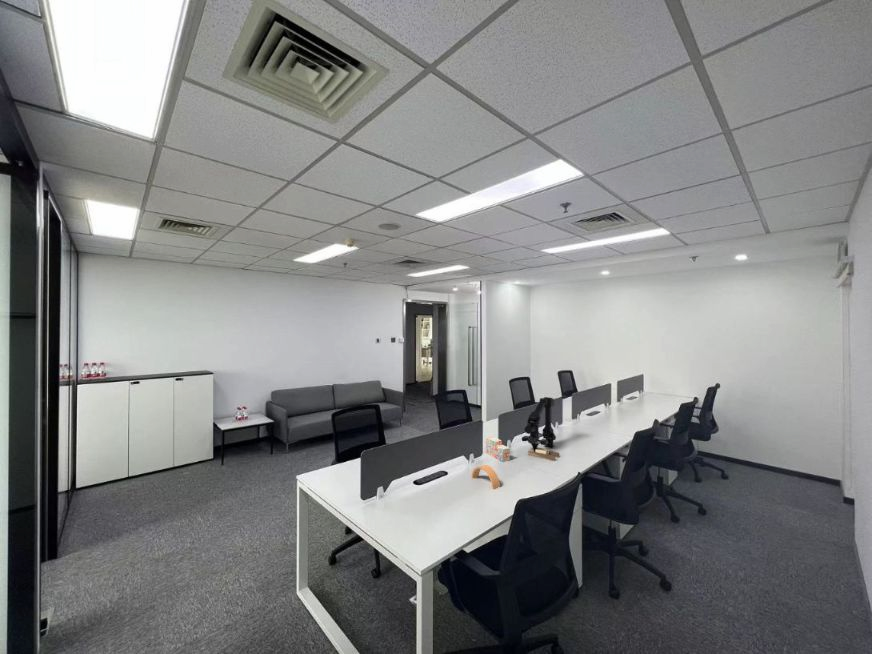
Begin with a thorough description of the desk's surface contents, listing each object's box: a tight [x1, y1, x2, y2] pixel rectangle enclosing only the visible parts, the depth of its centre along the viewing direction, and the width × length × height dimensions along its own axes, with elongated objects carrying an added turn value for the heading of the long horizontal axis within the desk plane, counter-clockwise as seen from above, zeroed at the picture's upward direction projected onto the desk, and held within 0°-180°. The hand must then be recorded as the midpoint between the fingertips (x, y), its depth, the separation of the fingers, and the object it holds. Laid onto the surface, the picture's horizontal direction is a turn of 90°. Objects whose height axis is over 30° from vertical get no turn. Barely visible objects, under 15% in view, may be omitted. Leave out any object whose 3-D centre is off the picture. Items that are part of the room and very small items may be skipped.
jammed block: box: [535, 447, 550, 455], centre depth 261 cm, size 6×8×4 cm
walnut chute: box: [527, 449, 560, 462], centre depth 260 cm, size 10×20×3 cm, turn 52°
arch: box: [471, 464, 501, 490], centre depth 215 cm, size 6×20×10 cm, turn 34°
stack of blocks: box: [485, 436, 511, 463], centre depth 260 cm, size 21×6×12 cm, turn 26°
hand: (534, 451), depth 264 cm, fingers closed
